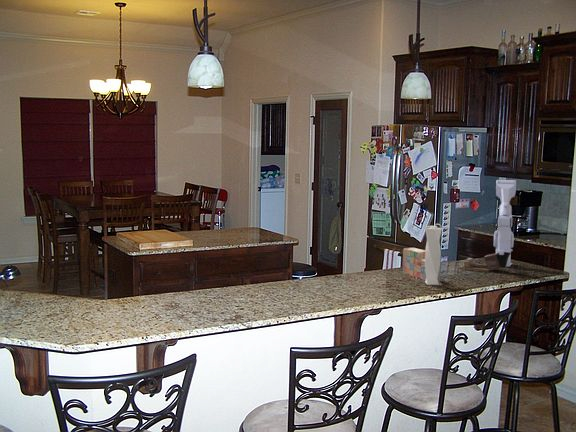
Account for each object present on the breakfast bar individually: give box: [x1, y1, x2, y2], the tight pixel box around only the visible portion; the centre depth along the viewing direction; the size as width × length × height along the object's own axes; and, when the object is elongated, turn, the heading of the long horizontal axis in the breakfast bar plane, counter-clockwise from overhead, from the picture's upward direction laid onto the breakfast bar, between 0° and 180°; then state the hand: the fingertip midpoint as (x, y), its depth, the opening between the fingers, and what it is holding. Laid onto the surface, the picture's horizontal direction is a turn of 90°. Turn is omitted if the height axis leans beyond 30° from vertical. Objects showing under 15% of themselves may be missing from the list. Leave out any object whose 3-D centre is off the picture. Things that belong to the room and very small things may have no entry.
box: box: [484, 252, 502, 271], centre depth 320 cm, size 6×6×7 cm
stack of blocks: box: [402, 247, 426, 281], centre depth 305 cm, size 21×6×12 cm, turn 24°
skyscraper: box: [423, 223, 443, 286], centre depth 289 cm, size 8×8×28 cm
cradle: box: [463, 257, 490, 273], centre depth 324 cm, size 12×12×5 cm
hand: (503, 267), depth 318 cm, fingers closed
